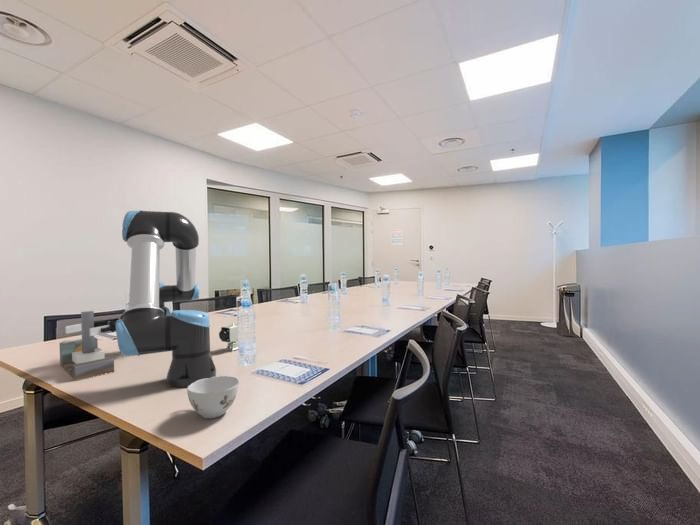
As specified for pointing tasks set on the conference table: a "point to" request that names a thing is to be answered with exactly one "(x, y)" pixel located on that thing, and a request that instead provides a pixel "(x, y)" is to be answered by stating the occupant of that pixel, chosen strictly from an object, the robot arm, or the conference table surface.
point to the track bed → (84, 368)
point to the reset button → (78, 348)
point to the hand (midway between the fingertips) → (77, 331)
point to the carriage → (87, 341)
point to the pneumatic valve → (230, 336)
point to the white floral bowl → (213, 395)
